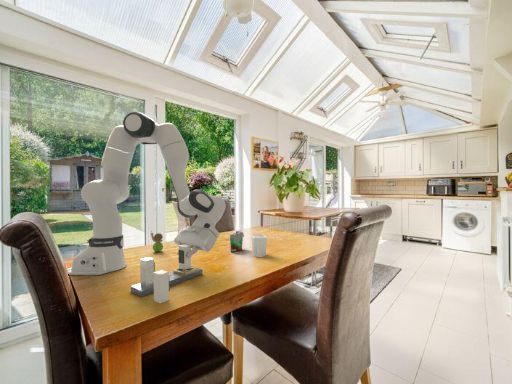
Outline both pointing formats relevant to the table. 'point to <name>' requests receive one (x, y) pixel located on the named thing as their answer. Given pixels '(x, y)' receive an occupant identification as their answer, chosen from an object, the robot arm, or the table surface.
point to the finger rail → (171, 282)
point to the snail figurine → (157, 242)
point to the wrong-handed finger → (161, 286)
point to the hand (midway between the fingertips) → (183, 256)
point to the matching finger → (184, 257)
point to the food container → (236, 241)
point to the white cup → (259, 245)
